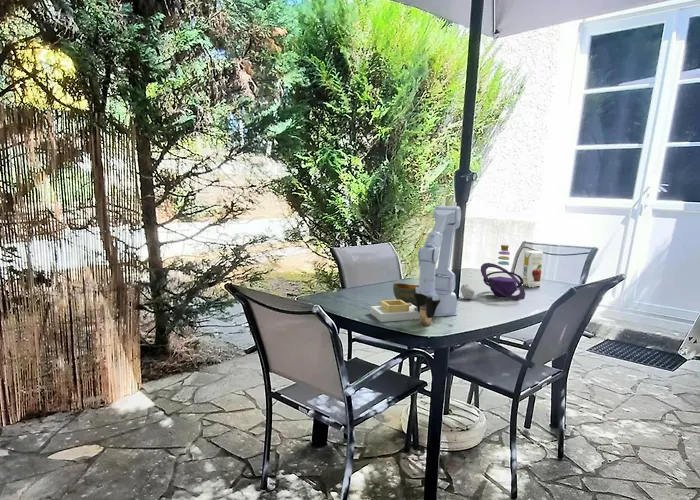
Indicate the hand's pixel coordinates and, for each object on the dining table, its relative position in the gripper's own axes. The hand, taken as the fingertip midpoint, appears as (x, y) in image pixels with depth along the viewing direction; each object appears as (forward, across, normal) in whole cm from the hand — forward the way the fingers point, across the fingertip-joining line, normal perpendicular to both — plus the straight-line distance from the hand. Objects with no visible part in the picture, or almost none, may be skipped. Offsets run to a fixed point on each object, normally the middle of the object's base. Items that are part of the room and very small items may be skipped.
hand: (425, 314), depth 169 cm
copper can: (+4, 0, 0) cm, 4 cm away
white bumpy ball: (+4, -32, +38) cm, 50 cm away
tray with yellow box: (+4, -13, -6) cm, 15 cm away
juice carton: (+3, -49, +88) cm, 101 cm away
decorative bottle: (+4, -32, +57) cm, 66 cm away
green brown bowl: (+4, -28, +9) cm, 30 cm away
